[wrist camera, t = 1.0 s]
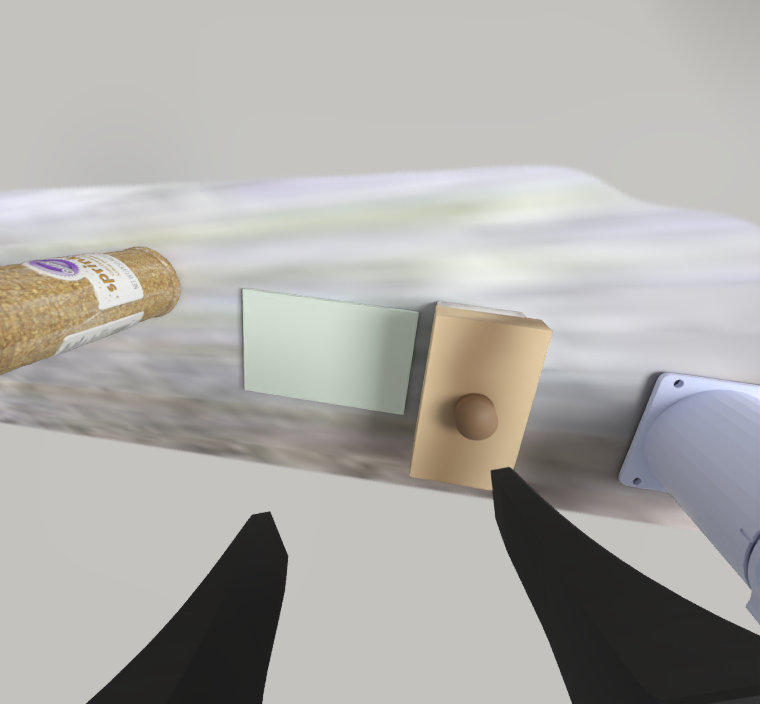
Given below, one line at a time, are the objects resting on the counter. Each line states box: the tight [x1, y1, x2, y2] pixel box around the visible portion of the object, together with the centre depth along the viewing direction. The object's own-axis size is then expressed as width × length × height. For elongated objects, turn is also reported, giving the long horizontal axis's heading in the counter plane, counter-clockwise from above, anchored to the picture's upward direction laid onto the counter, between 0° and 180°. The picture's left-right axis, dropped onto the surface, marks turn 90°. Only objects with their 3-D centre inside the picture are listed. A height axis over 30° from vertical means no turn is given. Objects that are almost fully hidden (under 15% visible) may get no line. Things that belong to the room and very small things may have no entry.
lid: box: [410, 306, 553, 491], centre depth 20 cm, size 5×9×3 cm, turn 174°
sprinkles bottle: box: [0, 247, 180, 375], centre depth 19 cm, size 5×5×13 cm
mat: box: [243, 288, 419, 415], centre depth 25 cm, size 11×7×1 cm, turn 84°
